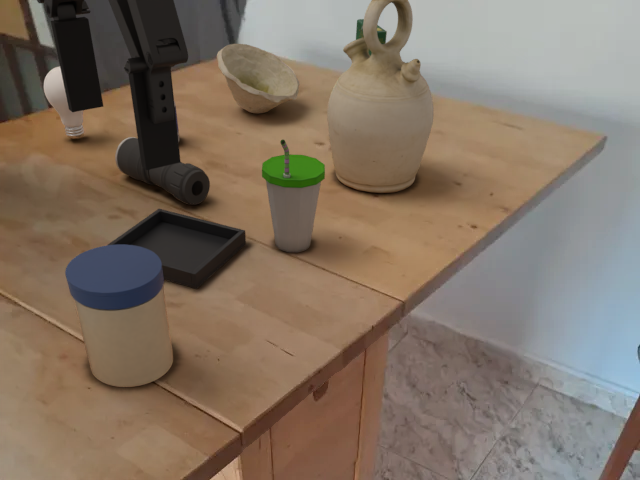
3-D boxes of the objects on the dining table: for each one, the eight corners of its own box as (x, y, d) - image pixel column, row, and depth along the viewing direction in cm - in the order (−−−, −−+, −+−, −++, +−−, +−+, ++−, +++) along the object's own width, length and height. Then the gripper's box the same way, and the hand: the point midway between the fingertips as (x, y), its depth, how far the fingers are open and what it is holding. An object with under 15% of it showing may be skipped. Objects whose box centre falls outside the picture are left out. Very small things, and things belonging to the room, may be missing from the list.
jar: (72, 372, 69) (48, 282, 62) (122, 329, 75) (105, 242, 68) (142, 396, 67) (125, 305, 60) (188, 350, 73) (178, 262, 66)
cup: (295, 224, 94) (296, 110, 84) (334, 246, 90) (341, 129, 80) (250, 242, 90) (246, 124, 80) (290, 265, 86) (290, 145, 76)
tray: (105, 262, 85) (102, 248, 84) (160, 222, 93) (158, 208, 92) (196, 288, 81) (195, 274, 80) (246, 244, 90) (245, 230, 88)
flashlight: (215, 200, 99) (212, 163, 95) (186, 212, 96) (182, 174, 92) (147, 168, 106) (142, 132, 102) (118, 178, 103) (112, 142, 99)
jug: (311, 163, 110) (315, -21, 92) (399, 153, 114) (419, -25, 97) (346, 204, 99) (358, 6, 82) (441, 191, 103) (472, 0, 86)
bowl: (267, 131, 119) (266, 69, 112) (204, 114, 124) (199, 53, 117) (314, 108, 128) (315, 48, 121) (253, 92, 133) (251, 34, 126)
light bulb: (90, 129, 117) (76, 58, 109) (102, 142, 113) (89, 70, 105) (50, 135, 114) (33, 63, 106) (61, 149, 110) (45, 75, 102)
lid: (48, 294, 63) (44, 277, 62) (107, 252, 69) (103, 236, 68) (128, 319, 61) (124, 302, 59) (181, 273, 66) (179, 257, 65)
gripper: (-70, -252, 44) (18, 96, 59) (82, -252, 30) (149, 207, 45) (44, -245, 48) (101, 82, 62) (230, -243, 33) (247, 181, 48)
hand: (121, 134), depth 53 cm, fingers open, 13 cm apart
